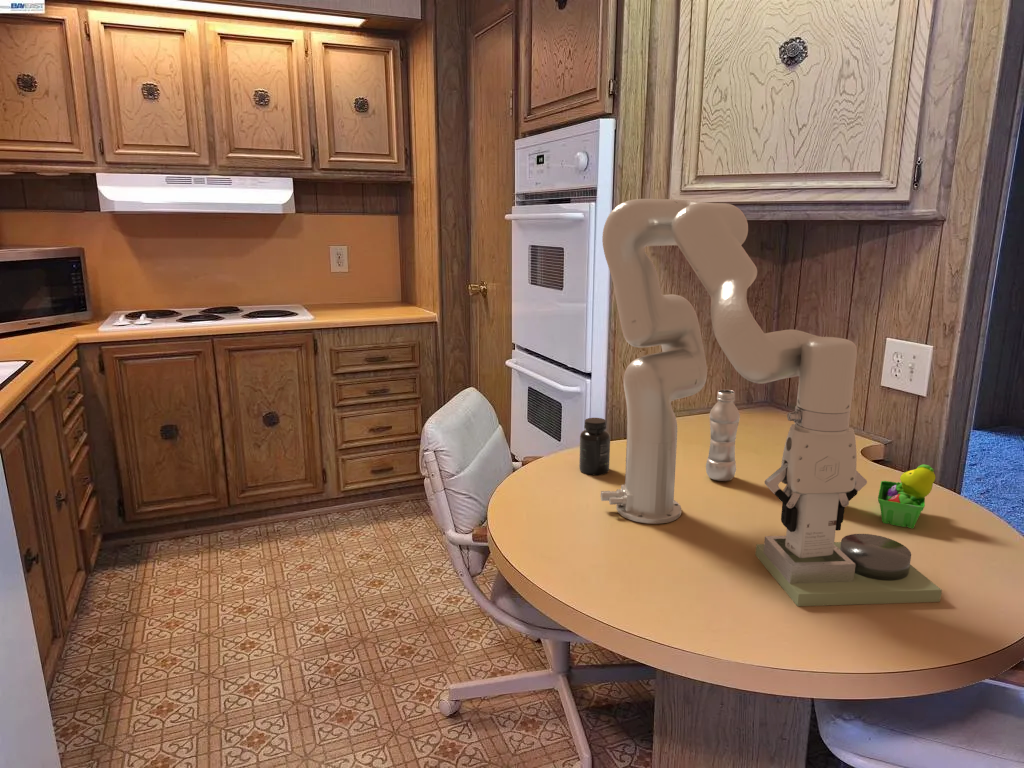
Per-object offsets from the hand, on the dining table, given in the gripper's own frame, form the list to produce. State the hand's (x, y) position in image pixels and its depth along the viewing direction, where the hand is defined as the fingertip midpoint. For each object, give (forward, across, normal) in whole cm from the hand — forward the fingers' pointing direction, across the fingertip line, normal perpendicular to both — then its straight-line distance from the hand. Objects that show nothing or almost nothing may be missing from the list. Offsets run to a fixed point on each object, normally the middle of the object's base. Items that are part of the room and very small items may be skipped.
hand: (811, 526), depth 108 cm
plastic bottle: (+9, +1, +43) cm, 44 cm away
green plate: (+9, +6, 0) cm, 11 cm away
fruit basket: (+9, +29, +21) cm, 37 cm away
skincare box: (+4, 0, 0) cm, 4 cm away
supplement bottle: (+9, -26, +50) cm, 57 cm away
